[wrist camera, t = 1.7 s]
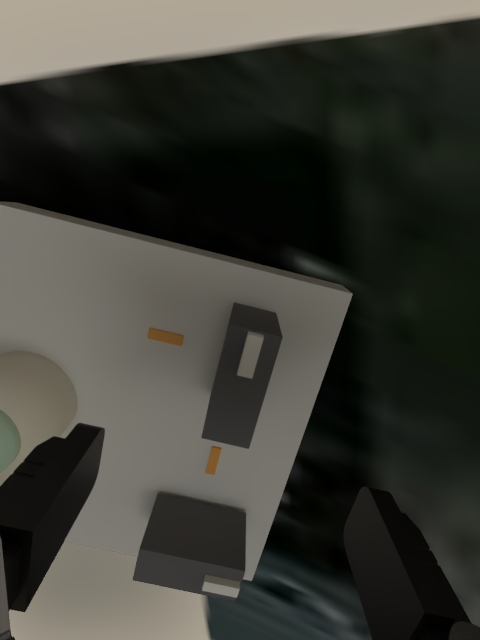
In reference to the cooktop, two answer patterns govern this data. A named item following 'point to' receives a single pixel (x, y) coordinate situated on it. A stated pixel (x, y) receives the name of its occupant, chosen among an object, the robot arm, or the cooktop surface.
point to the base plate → (150, 368)
